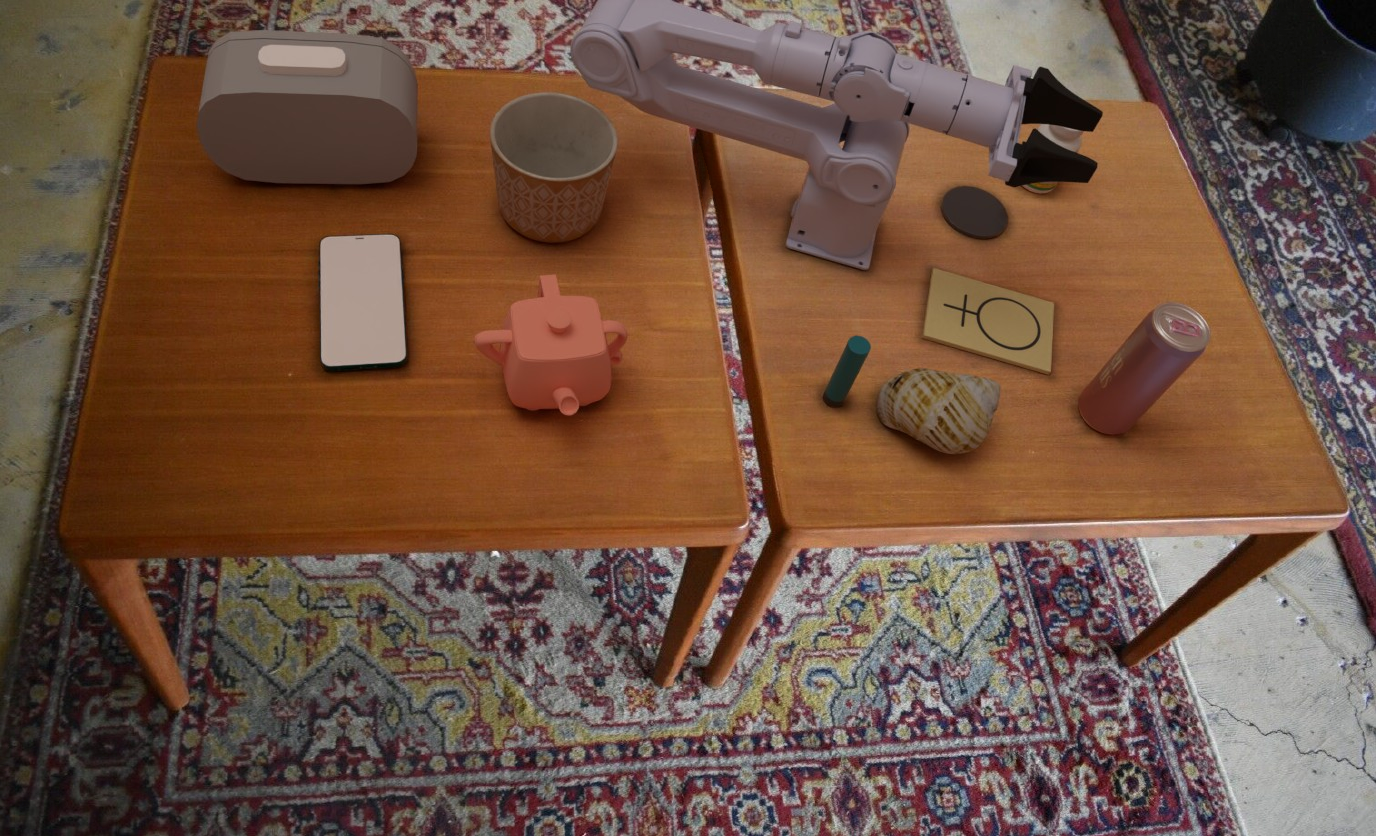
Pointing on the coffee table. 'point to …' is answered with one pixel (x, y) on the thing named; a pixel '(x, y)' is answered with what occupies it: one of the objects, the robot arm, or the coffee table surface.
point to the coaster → (974, 212)
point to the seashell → (940, 408)
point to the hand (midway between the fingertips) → (1095, 146)
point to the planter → (552, 164)
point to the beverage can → (1144, 367)
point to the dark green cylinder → (846, 371)
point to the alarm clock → (309, 108)
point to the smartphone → (361, 302)
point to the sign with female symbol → (989, 321)
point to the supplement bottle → (1061, 137)
